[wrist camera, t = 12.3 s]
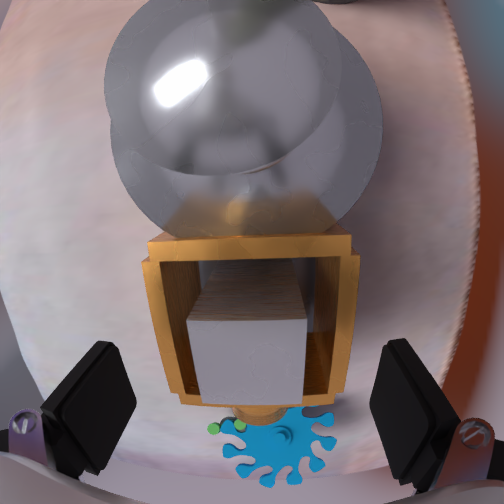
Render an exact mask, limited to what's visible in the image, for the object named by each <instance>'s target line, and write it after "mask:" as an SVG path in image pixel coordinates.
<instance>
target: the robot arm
mask: <svg viewBox="0 0 504 504" xmlns="http://www.w3.org/2000/svg"><path fill="white" fill-rule="evenodd" d="M136 404H137V401H136V397H135V394H134V392H133V389H132V387H131V384H130V381H129V378H128V376H127V373H126V370H125V367H124V364H123V361H122V358H121V355H120V352H119V349H118V348H117V347H116V346H115V345H114V344H113V343H112V342H107V341H97V342H96V343H95V344H94V345H93V346H92V348H91V349H90V350H89V351H88V352H87V353H86V354H85V355H84V356H83V358H82V359H81V360H80V361H79V362H78V363H77V364H76V366H75V367H74V368H73V369H72V370H71V371H70V372H69V374H68V375H67V376H66V377H65V378H64V379H63V381H62V382H61V383H60V384H59V385H58V386H57V388H56V389H55V390H54V391H53V392H52V394H51V395H50V396H49V397H48V398H47V400H46V401H45V402H44V403H43V404H42V406H41V407H40V408H41V410H42V411H43V414H42V415H40V414H39V413H38V412H37V411H36V410H33V409H24V410H21V411H19V412H17V413H16V414H14V416H13V417H12V418H11V420H10V422H9V429H5V430H1V431H0V504H148V503H144V502H140V501H137V500H133V499H129V498H126V497H123V496H120V495H116V494H113V493H110V492H108V491H105V490H102V489H99V488H96V487H93V486H91V485H89V484H86V483H85V481H84V478H83V474H82V473H83V471H84V470H85V471H86V472H89V473H92V474H94V475H97V476H98V475H99V473H100V471H101V470H104V469H105V467H106V465H107V463H108V461H109V459H110V457H111V455H112V453H113V451H114V449H115V447H116V445H117V443H118V441H119V439H120V437H121V435H122V433H123V431H124V429H125V427H126V425H127V423H128V421H129V419H130V417H131V416H132V414H133V412H134V410H135V408H136ZM370 410H371V413H372V415H373V418H374V421H375V424H376V427H377V430H378V432H379V435H380V438H381V441H382V444H383V447H384V450H385V453H386V456H387V459H388V463H389V466H390V469H391V472H392V475H393V478H394V479H398V480H399V483H400V485H404V484H408V483H411V482H412V483H413V486H414V488H415V490H414V492H413V494H412V495H411V497H407V498H404V499H400V500H396V501H393V502H389V503H385V504H504V441H500V440H496V439H495V433H494V430H493V427H492V426H491V425H490V424H489V423H488V422H486V421H485V420H483V419H480V418H468V419H465V420H463V421H462V422H461V420H460V419H459V417H458V415H457V414H456V412H455V411H454V409H453V407H452V406H451V404H450V403H449V401H448V400H447V398H446V396H445V395H444V393H443V392H442V390H441V389H440V387H439V386H438V384H437V383H436V381H435V380H434V378H433V377H432V375H431V374H430V373H429V371H428V370H427V368H426V367H425V366H424V364H423V363H422V361H421V360H420V358H419V357H418V355H417V354H416V353H415V351H414V350H413V348H412V347H411V346H410V344H409V343H408V341H407V340H406V339H405V338H402V339H395V340H390V341H388V343H387V345H384V346H383V349H382V353H381V358H380V362H379V367H378V371H377V375H376V379H375V383H374V387H373V390H372V394H371V397H370Z"/></svg>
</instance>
